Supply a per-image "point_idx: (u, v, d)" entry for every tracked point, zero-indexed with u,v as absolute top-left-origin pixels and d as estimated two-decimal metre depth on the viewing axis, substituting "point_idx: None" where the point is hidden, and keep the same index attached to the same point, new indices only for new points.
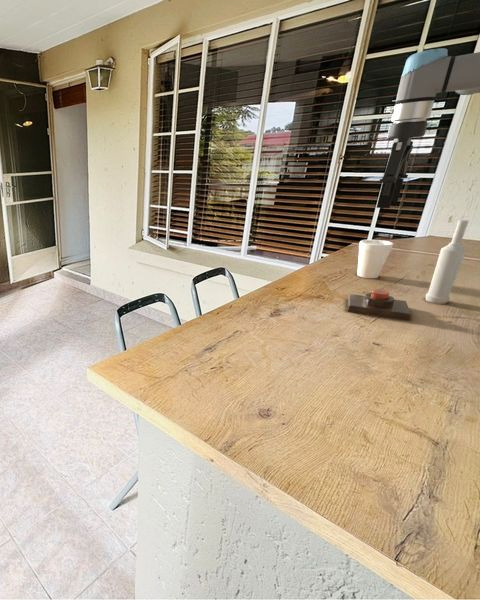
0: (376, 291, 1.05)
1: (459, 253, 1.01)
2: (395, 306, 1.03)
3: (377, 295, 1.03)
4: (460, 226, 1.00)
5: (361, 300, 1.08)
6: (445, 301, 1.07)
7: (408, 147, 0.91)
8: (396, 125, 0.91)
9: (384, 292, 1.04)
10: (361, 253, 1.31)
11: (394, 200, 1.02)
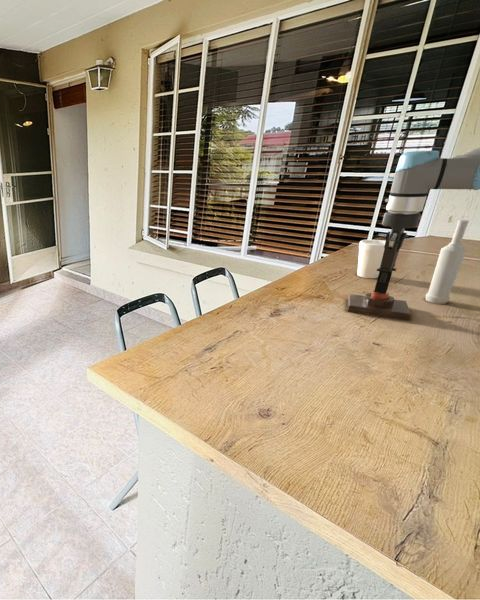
0: (376, 292, 1.05)
1: (459, 253, 1.01)
2: (395, 306, 1.03)
3: (377, 296, 1.04)
4: (460, 226, 1.00)
5: (361, 300, 1.08)
6: (445, 301, 1.07)
7: (401, 238, 0.96)
8: (391, 215, 0.95)
9: (384, 293, 1.04)
10: (361, 253, 1.31)
11: None
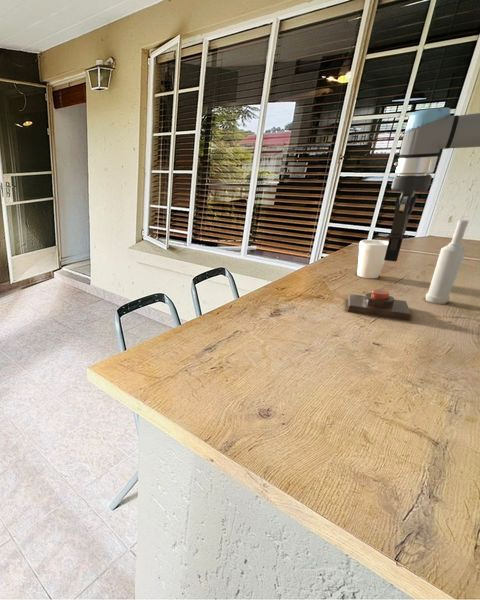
0: (376, 291, 1.05)
1: (459, 253, 1.01)
2: (395, 306, 1.03)
3: (377, 295, 1.03)
4: (460, 226, 1.00)
5: (361, 300, 1.08)
6: (445, 301, 1.07)
7: (412, 201, 0.93)
8: (401, 178, 0.92)
9: (384, 292, 1.04)
10: (361, 253, 1.31)
11: None
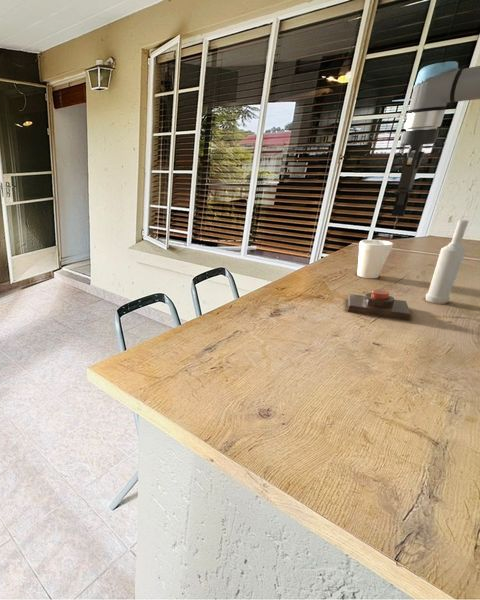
0: (376, 291, 1.05)
1: (459, 253, 1.01)
2: (395, 306, 1.03)
3: (377, 295, 1.03)
4: (460, 226, 1.00)
5: (361, 300, 1.08)
6: (445, 301, 1.07)
7: (419, 155, 0.97)
8: (409, 132, 0.96)
9: (384, 292, 1.04)
10: (361, 253, 1.31)
11: None
